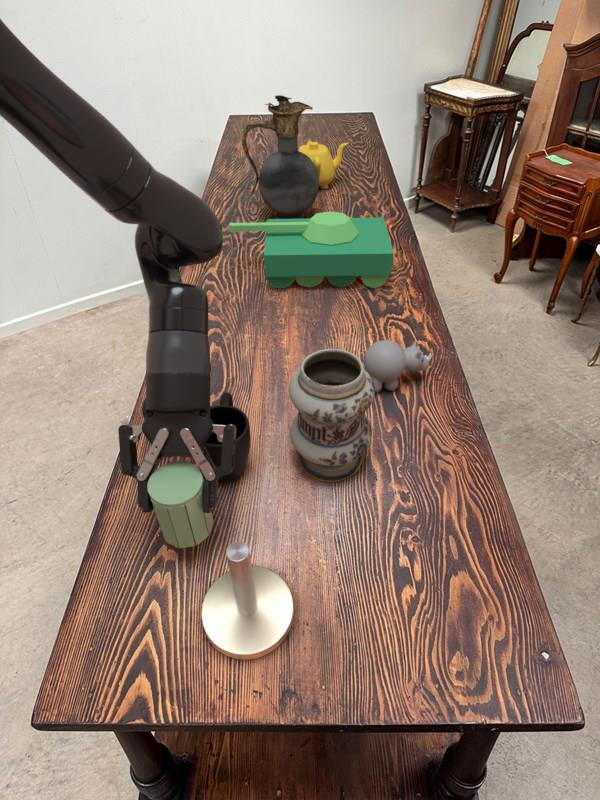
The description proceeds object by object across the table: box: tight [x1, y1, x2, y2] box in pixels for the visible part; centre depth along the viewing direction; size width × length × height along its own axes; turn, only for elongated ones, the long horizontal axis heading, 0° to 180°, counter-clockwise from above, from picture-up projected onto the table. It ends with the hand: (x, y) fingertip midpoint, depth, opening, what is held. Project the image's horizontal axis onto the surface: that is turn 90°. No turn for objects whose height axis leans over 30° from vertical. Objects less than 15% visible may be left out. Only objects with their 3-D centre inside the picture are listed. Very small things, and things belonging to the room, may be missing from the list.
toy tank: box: [228, 210, 394, 289], centre depth 121 cm, size 18×12×35 cm
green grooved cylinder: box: [147, 460, 214, 549], centre depth 66 cm, size 6×7×9 cm
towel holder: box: [200, 540, 295, 661], centre depth 60 cm, size 11×11×14 cm
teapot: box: [298, 140, 349, 190], centre depth 158 cm, size 14×14×12 cm
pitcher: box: [241, 94, 320, 219], centre depth 135 cm, size 11×19×30 cm, turn 95°
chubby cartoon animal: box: [363, 339, 433, 393], centre depth 93 cm, size 7×12×8 cm, turn 96°
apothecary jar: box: [288, 348, 376, 483], centre depth 77 cm, size 12×12×18 cm
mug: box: [205, 392, 252, 484], centre depth 80 cm, size 8×12×10 cm
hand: (178, 511), depth 64 cm, fingers closed on green grooved cylinder, 6 cm apart
